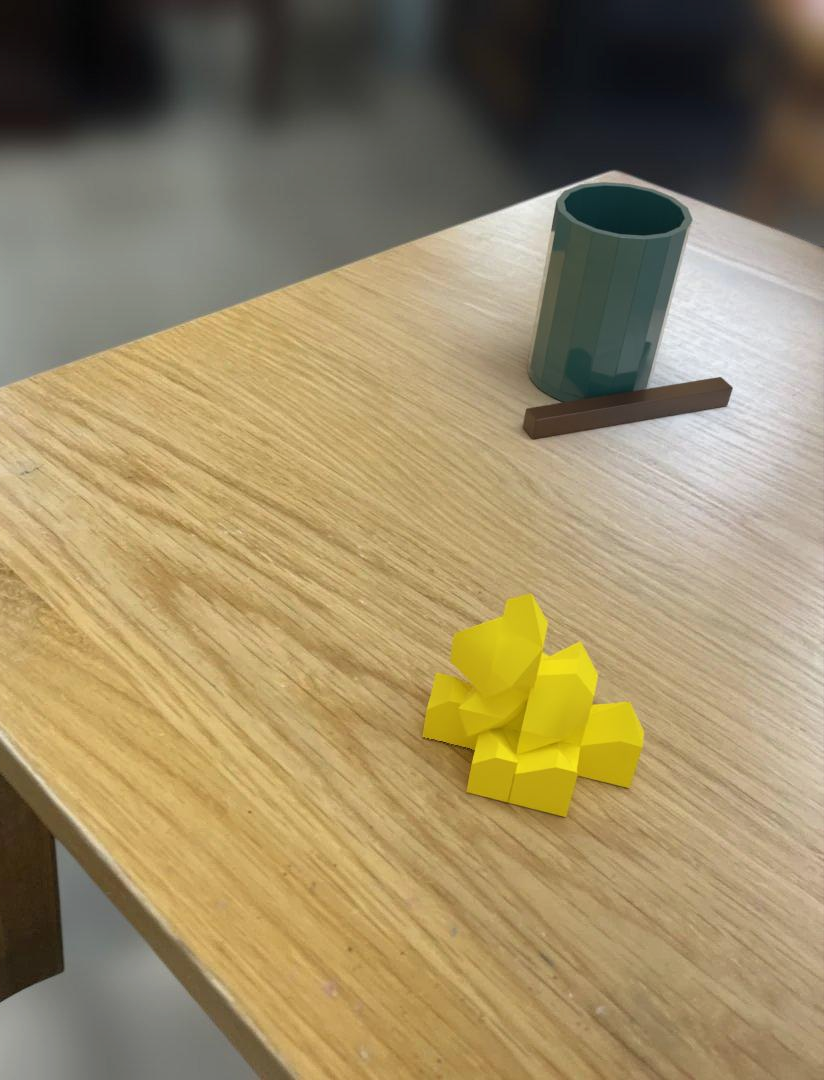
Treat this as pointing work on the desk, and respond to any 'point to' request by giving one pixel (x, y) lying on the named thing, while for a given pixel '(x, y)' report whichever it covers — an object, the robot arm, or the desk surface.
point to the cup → (606, 289)
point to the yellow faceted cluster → (530, 714)
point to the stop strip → (626, 407)
